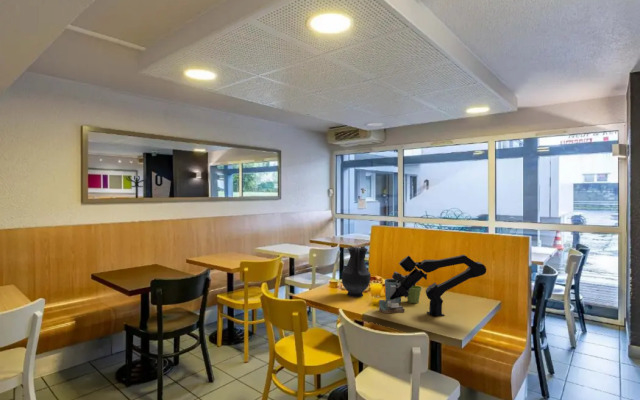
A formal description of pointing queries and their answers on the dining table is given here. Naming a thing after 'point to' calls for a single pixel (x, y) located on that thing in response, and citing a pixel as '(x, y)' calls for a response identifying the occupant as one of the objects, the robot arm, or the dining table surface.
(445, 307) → the dining table surface
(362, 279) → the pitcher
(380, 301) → the rail bed
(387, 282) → the drinking glass
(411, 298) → the plant pot
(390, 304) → the carriage
